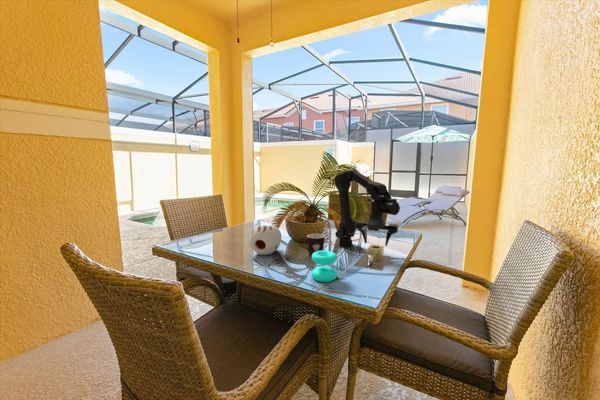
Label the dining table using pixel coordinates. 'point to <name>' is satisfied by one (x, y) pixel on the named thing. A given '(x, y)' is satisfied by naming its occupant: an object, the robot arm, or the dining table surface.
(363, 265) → the base plate
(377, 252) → the brass collar
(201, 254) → the dining table surface
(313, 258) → the donuts
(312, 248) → the coffee mug
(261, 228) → the decorative object
